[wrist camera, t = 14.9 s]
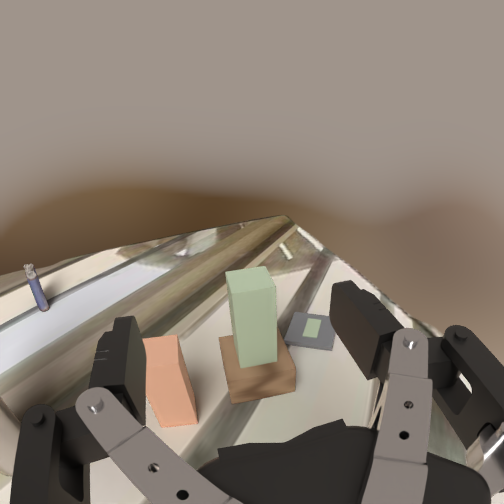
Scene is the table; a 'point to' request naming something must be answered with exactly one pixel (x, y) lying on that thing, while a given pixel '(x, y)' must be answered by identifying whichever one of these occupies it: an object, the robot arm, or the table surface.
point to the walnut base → (257, 373)
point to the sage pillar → (253, 315)
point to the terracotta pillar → (169, 382)
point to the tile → (310, 331)
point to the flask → (36, 287)
